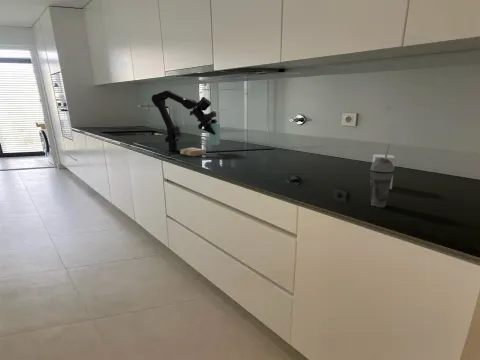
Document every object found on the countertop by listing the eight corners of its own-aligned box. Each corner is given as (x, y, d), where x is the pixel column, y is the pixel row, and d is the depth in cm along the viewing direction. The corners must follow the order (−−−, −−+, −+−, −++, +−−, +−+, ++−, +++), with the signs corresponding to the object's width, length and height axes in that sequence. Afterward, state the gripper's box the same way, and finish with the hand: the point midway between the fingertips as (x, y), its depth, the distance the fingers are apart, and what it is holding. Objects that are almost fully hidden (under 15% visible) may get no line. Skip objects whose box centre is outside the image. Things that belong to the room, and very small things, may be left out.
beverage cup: (365, 201, 113) (371, 142, 108) (388, 203, 111) (395, 143, 106) (367, 207, 106) (373, 145, 102) (391, 209, 104) (399, 146, 100)
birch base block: (180, 153, 214) (180, 148, 213) (193, 151, 220) (192, 147, 220) (192, 156, 204) (192, 151, 203) (205, 154, 210) (205, 149, 210)
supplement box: (371, 188, 129) (374, 156, 126) (370, 184, 136) (373, 153, 133) (392, 190, 127) (395, 157, 124) (389, 185, 134) (393, 154, 131)
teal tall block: (209, 144, 212) (209, 123, 209) (212, 143, 216) (212, 123, 213) (216, 145, 210) (216, 124, 207) (219, 144, 215) (219, 123, 212)
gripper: (202, 107, 200) (219, 126, 200) (214, 106, 218) (230, 124, 217) (190, 119, 205) (207, 138, 204) (203, 118, 222) (219, 135, 221)
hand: (216, 133), depth 211 cm, fingers closed on teal tall block, 5 cm apart
